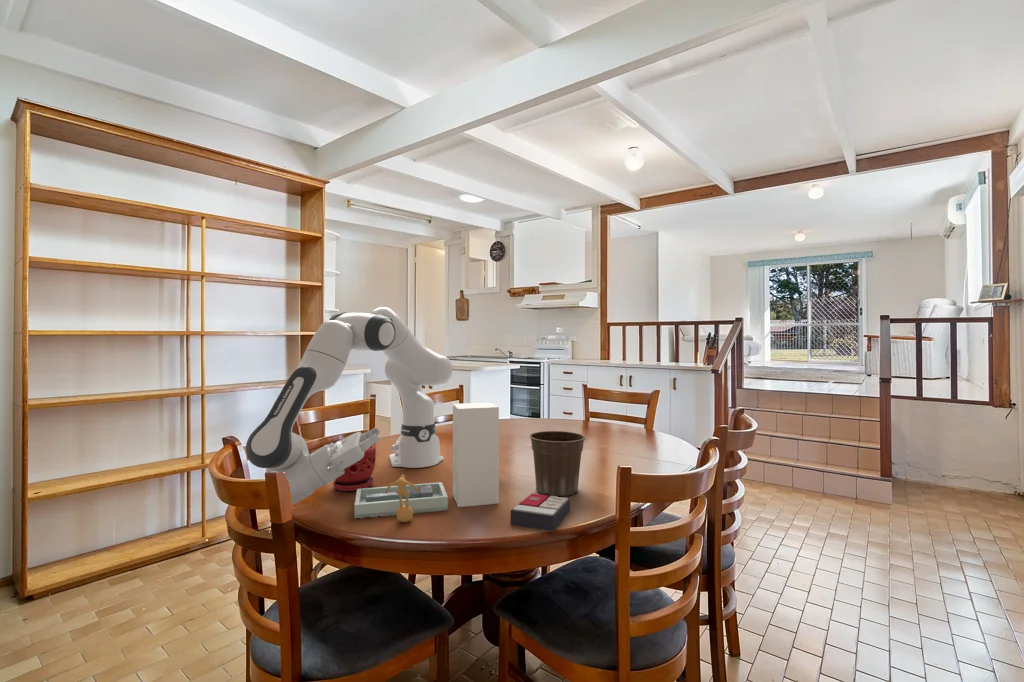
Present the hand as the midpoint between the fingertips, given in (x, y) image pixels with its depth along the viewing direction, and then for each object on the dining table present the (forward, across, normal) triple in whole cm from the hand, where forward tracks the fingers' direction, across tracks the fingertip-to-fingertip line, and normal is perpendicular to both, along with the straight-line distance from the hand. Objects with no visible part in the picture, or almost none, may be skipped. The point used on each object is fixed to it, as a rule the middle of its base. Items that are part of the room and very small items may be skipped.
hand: (378, 433), depth 125 cm
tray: (-5, 0, +20) cm, 21 cm away
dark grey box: (+24, -17, +37) cm, 48 cm away
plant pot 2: (+34, +1, +42) cm, 54 cm away
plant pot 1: (-16, +21, +14) cm, 30 cm away
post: (+13, 0, +30) cm, 33 cm away
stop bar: (-5, 0, +19) cm, 19 cm away
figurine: (-5, -12, +20) cm, 24 cm away
